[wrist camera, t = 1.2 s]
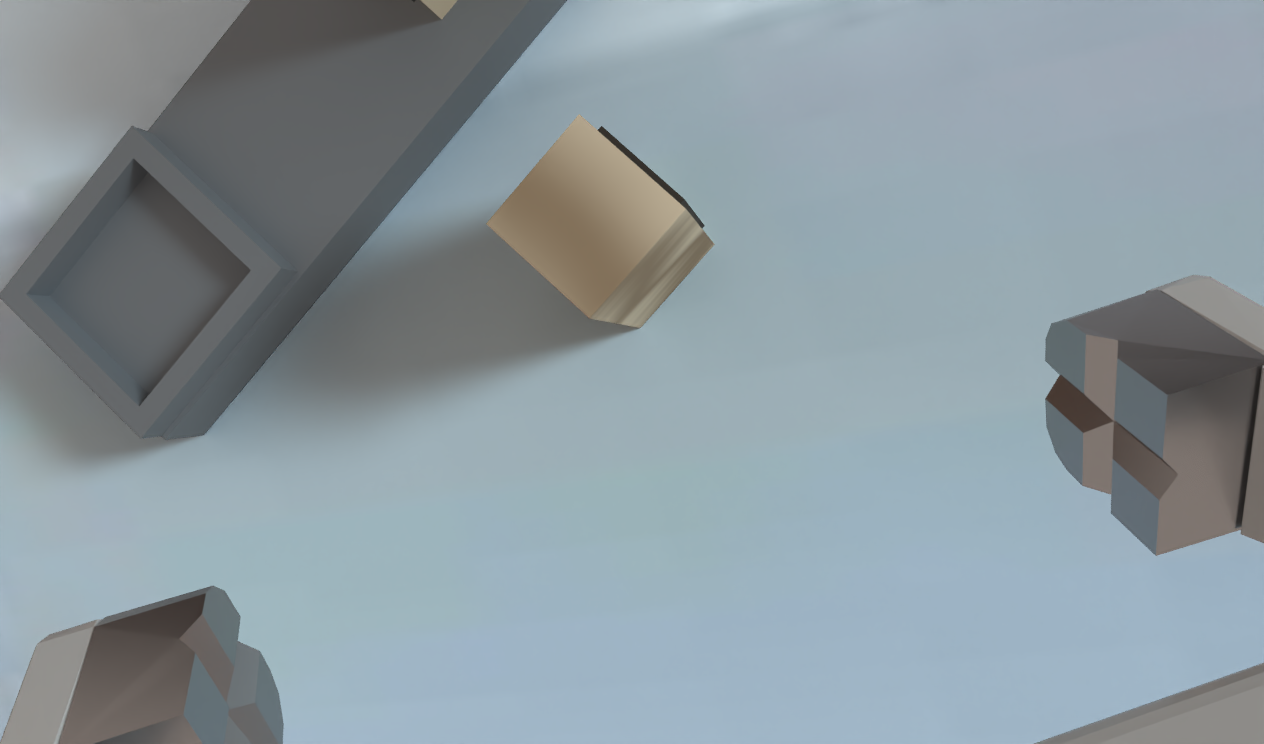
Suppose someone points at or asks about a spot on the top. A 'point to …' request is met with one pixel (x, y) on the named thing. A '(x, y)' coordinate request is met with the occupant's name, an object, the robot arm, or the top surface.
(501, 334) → the top surface
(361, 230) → the grey block holder
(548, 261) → the block
